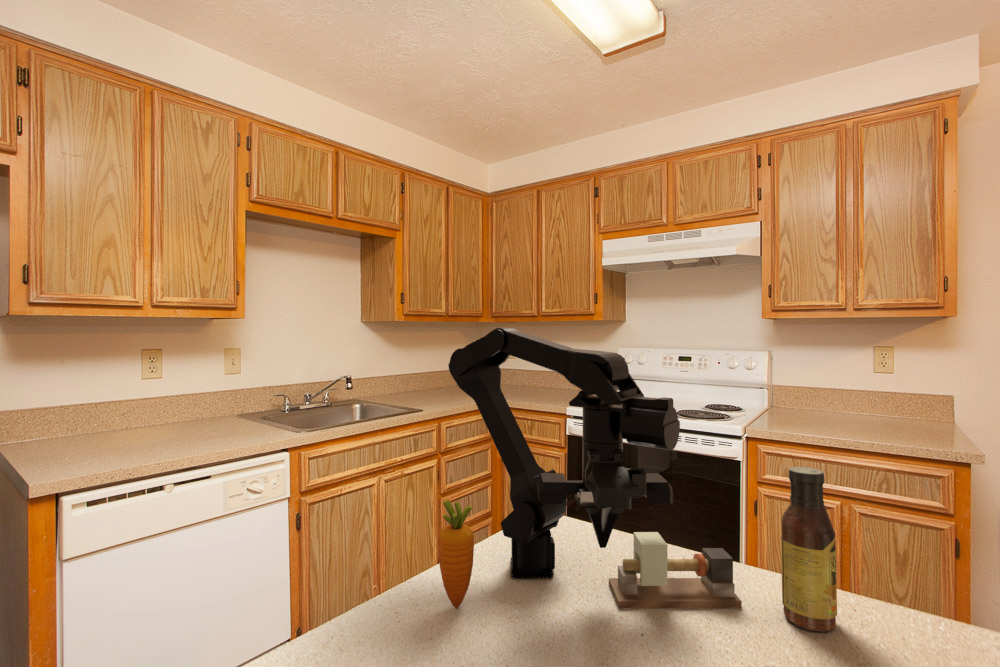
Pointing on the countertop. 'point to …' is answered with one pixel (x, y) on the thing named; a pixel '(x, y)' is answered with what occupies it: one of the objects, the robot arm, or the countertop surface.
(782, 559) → the sauce bottle
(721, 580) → the cable stand
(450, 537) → the carrot
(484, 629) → the countertop surface
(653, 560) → the cream block
